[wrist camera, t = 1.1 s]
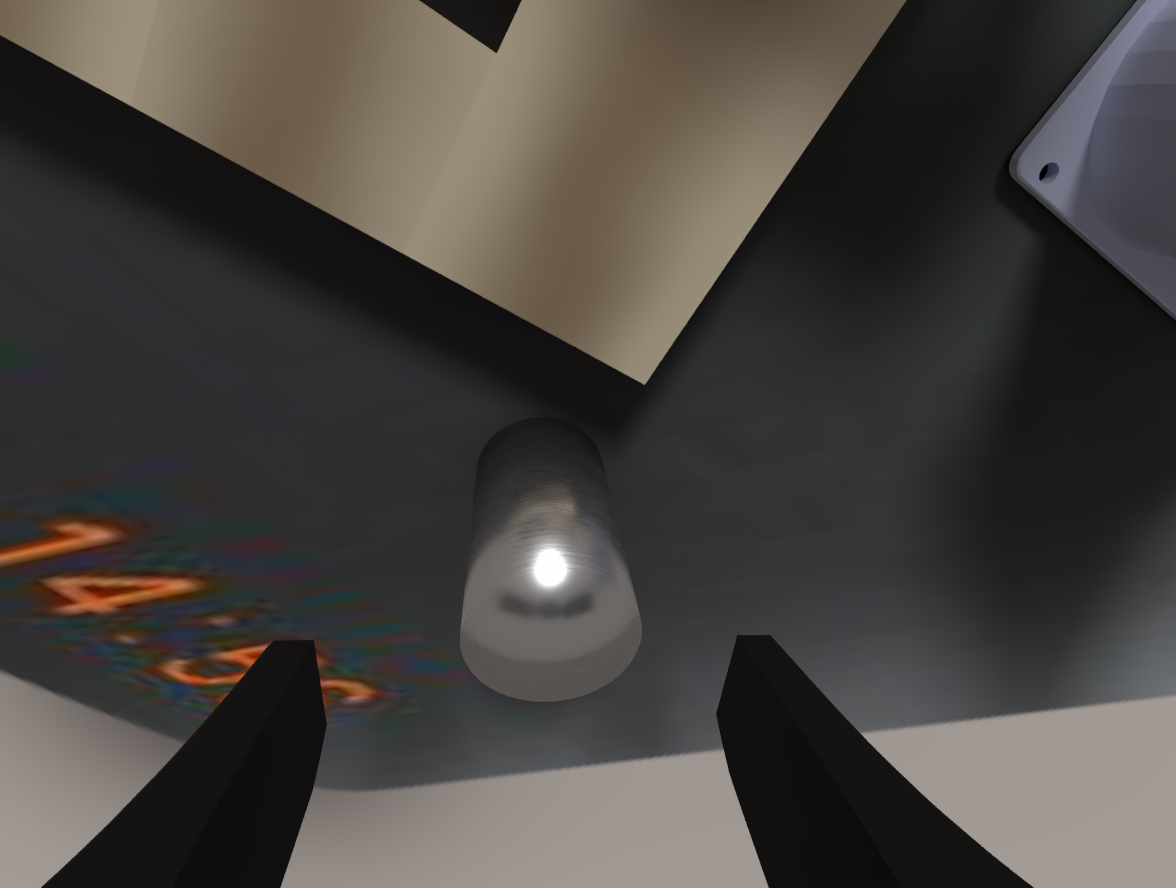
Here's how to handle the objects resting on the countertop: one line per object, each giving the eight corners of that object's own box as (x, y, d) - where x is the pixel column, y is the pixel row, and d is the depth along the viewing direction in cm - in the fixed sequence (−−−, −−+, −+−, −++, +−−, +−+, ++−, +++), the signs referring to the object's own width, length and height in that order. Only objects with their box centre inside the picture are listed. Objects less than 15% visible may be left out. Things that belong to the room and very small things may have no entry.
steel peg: (627, 451, 20) (676, 607, 14) (563, 542, 22) (582, 720, 15) (514, 396, 19) (515, 541, 13) (454, 496, 20) (429, 670, 14)
